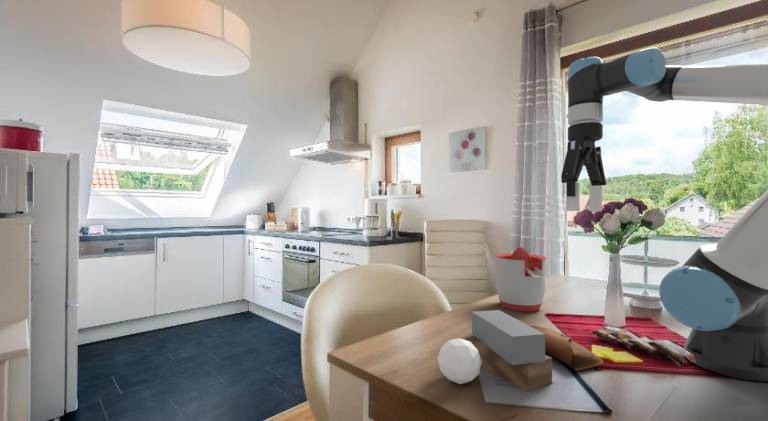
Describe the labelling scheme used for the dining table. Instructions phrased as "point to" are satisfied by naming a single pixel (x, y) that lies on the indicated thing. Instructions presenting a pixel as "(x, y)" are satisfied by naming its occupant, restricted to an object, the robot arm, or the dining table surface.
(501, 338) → the tower top block
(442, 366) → the geometric ball
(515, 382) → the tower base block
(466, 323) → the dining table surface
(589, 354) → the sunglasses case
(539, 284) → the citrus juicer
